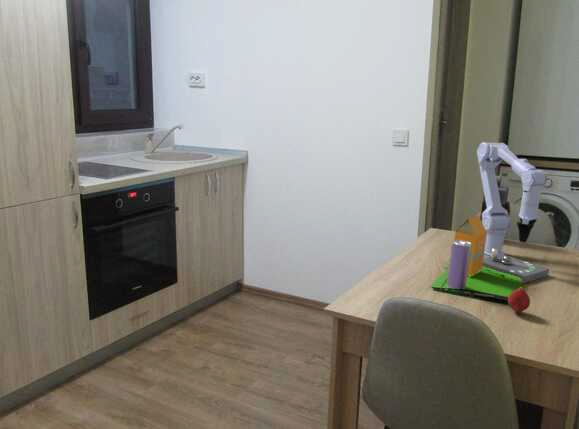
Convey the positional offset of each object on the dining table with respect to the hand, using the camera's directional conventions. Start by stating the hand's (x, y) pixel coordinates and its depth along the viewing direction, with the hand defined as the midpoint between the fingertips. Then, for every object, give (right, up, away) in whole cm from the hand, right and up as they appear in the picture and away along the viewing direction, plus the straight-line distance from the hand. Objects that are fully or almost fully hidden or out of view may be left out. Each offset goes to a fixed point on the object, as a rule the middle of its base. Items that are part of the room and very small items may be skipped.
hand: (523, 239), depth 193 cm
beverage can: (-32, -14, -22) cm, 41 cm away
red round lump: (-20, -20, -40) cm, 49 cm away
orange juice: (-24, -11, -7) cm, 27 cm away
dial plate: (-6, -11, -3) cm, 13 cm away
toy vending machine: (+2, -2, +37) cm, 37 cm away
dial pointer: (-7, -8, -4) cm, 11 cm away
